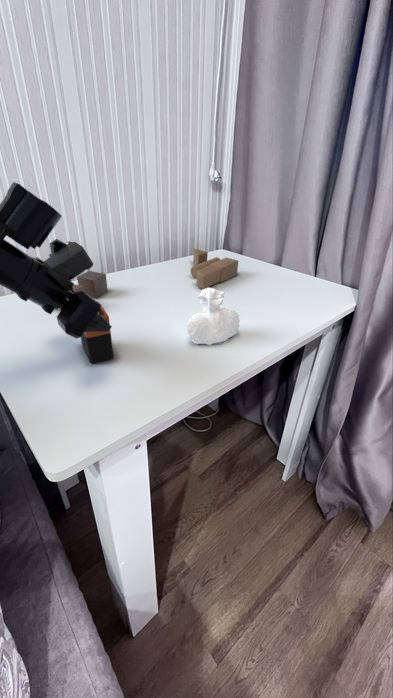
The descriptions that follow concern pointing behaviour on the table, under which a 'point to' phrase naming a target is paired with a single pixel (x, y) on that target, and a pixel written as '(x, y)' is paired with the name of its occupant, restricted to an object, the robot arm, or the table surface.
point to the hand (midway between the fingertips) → (100, 320)
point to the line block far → (93, 283)
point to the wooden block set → (212, 269)
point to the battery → (98, 343)
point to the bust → (212, 320)
